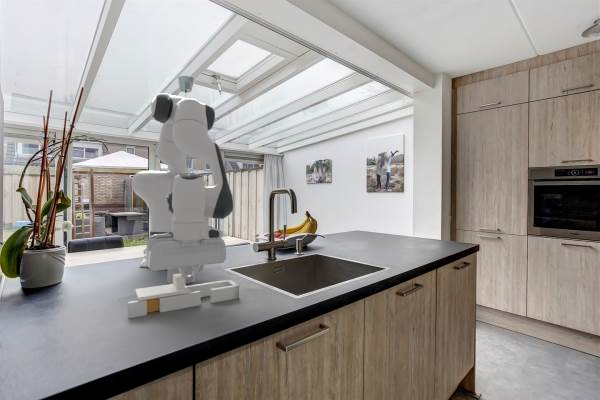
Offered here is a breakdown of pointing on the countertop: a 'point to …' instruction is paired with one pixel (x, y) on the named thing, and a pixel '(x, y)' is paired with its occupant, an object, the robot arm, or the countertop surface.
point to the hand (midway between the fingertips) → (188, 282)
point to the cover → (164, 289)
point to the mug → (176, 271)
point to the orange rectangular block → (152, 304)
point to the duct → (189, 297)
